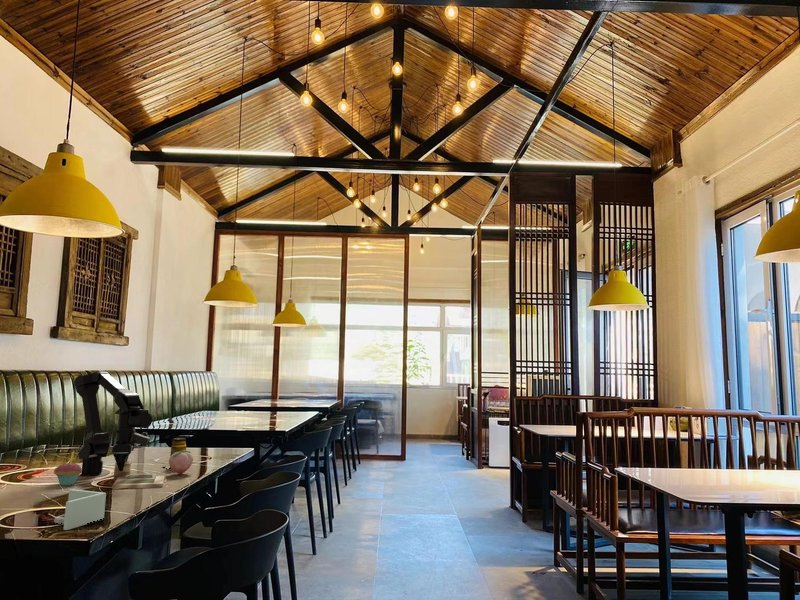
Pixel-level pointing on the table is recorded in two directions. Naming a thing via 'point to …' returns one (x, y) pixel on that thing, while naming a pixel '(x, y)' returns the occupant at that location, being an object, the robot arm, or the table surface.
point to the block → (122, 473)
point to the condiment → (178, 445)
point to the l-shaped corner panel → (82, 508)
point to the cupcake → (68, 472)
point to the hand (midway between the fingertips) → (122, 469)
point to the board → (139, 481)
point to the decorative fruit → (180, 461)
